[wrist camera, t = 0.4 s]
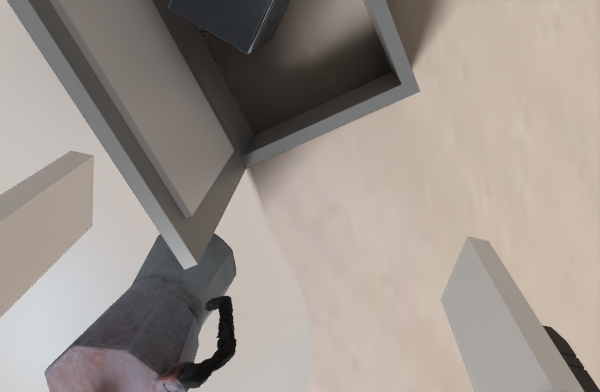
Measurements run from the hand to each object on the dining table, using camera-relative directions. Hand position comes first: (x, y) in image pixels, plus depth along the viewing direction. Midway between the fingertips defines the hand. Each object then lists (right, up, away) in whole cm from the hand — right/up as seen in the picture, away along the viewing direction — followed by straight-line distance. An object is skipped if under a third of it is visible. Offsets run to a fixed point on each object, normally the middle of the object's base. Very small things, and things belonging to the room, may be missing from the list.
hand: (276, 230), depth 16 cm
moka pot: (-10, -5, +31) cm, 33 cm away
